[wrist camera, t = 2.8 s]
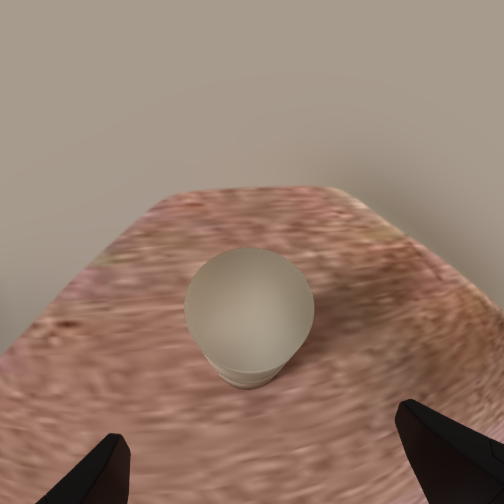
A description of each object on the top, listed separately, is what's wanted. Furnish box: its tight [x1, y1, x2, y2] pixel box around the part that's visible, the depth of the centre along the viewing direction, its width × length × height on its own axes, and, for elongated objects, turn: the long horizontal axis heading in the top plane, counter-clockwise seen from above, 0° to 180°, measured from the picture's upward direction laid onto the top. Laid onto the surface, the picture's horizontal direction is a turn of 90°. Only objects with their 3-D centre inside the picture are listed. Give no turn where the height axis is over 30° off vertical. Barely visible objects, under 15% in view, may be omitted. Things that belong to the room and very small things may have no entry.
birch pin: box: [184, 248, 314, 390], centre depth 15 cm, size 4×4×11 cm
